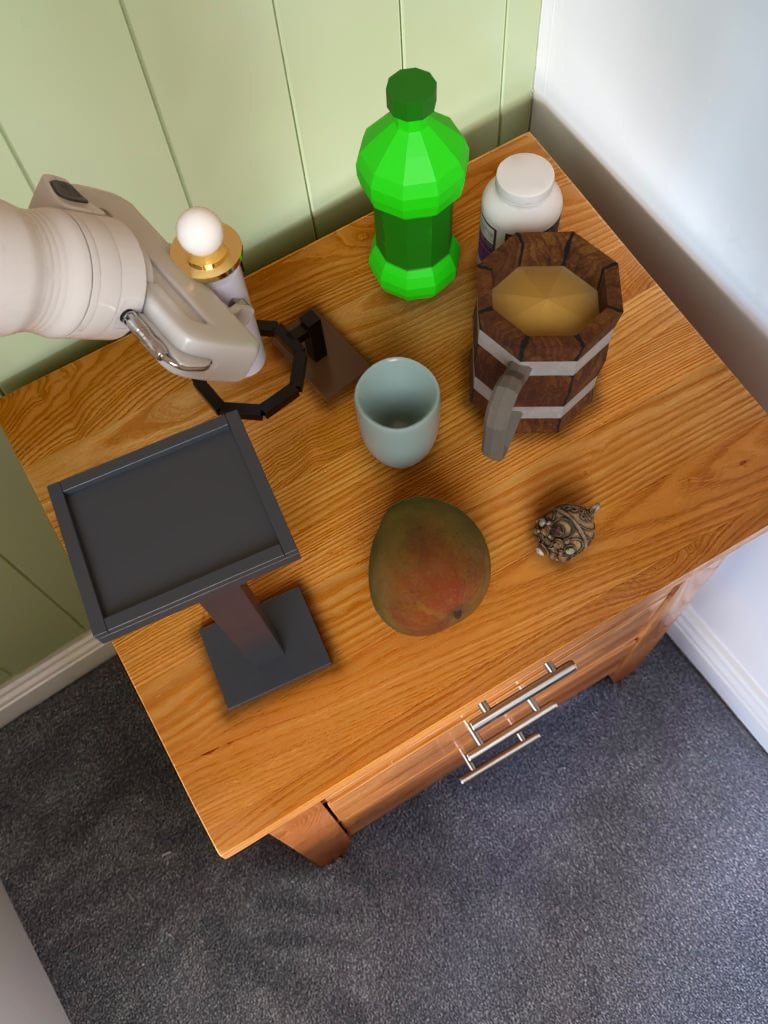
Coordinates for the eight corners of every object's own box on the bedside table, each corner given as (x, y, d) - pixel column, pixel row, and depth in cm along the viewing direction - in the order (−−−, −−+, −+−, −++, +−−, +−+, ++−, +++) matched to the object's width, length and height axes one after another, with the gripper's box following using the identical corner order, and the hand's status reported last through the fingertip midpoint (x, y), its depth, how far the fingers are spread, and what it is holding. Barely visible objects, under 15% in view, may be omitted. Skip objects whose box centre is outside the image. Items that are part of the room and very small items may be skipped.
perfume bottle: (273, 385, 80) (232, 241, 61) (213, 389, 80) (154, 247, 61) (273, 335, 82) (232, 182, 64) (214, 339, 82) (157, 187, 64)
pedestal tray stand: (223, 726, 74) (93, 637, 45) (187, 627, 78) (46, 485, 49) (347, 670, 76) (297, 549, 47) (306, 575, 79) (236, 408, 50)
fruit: (402, 666, 75) (398, 638, 66) (338, 553, 80) (327, 513, 71) (511, 605, 77) (523, 570, 68) (443, 498, 82) (445, 452, 73)
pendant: (517, 543, 80) (522, 523, 75) (575, 496, 81) (584, 473, 77) (553, 581, 78) (561, 564, 73) (612, 532, 80) (624, 512, 75)
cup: (346, 446, 85) (336, 396, 75) (398, 397, 87) (394, 341, 77) (402, 493, 82) (399, 446, 73) (454, 441, 84) (458, 389, 75)
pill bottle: (561, 263, 92) (584, 161, 79) (526, 314, 90) (544, 219, 77) (497, 234, 94) (509, 130, 81) (462, 283, 92) (468, 185, 79)
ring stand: (249, 465, 84) (234, 430, 77) (190, 395, 88) (170, 356, 81) (375, 374, 88) (370, 332, 81) (313, 310, 91) (303, 266, 84)
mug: (491, 310, 90) (503, 210, 76) (612, 349, 88) (646, 252, 74) (421, 460, 84) (420, 380, 70) (550, 507, 81) (575, 434, 67)
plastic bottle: (433, 229, 95) (436, 26, 72) (477, 297, 91) (494, 105, 68) (354, 262, 94) (331, 66, 71) (394, 332, 90) (384, 148, 67)
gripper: (187, 333, 55) (318, 338, 67) (33, 159, 62) (176, 190, 73) (150, 405, 58) (282, 398, 70) (7, 232, 65) (148, 251, 76)
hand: (226, 290), depth 71 cm, fingers closed on perfume bottle, 4 cm apart
